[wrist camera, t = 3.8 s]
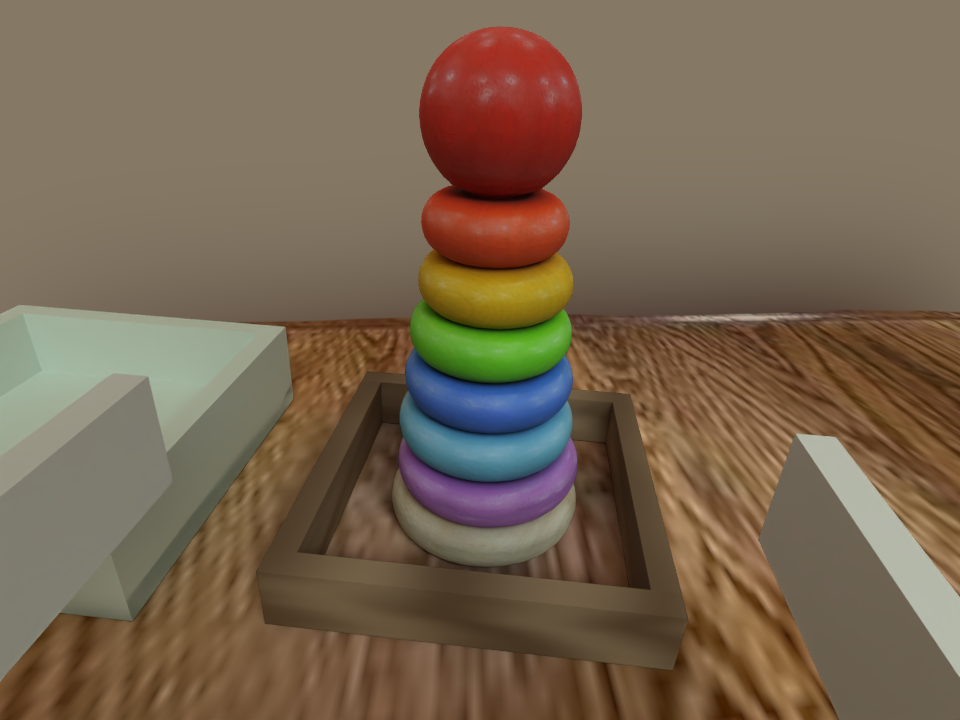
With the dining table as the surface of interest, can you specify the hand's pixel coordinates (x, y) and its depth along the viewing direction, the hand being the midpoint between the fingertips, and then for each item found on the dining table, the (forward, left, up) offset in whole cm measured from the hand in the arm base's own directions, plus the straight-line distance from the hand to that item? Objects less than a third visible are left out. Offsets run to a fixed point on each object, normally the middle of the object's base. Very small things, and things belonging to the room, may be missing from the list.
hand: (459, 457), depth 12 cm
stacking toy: (0, -10, -11) cm, 15 cm away
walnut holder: (0, -10, -10) cm, 15 cm away
